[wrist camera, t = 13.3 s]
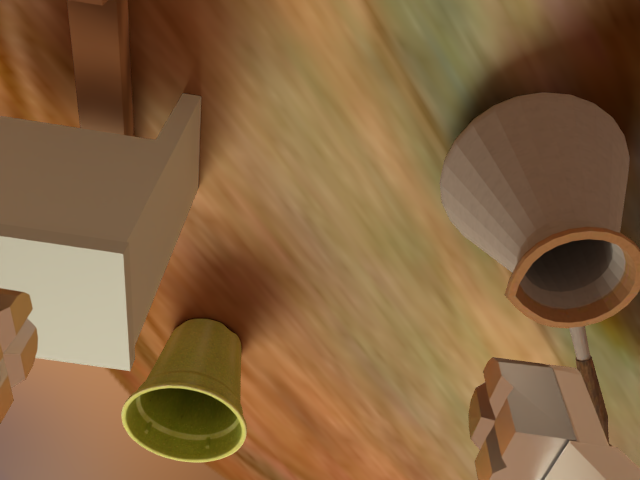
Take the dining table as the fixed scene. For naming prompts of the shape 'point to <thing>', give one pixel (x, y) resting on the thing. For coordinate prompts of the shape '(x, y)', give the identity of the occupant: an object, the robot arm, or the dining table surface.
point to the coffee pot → (549, 212)
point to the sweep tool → (102, 64)
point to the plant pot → (191, 396)
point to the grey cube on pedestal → (93, 228)
